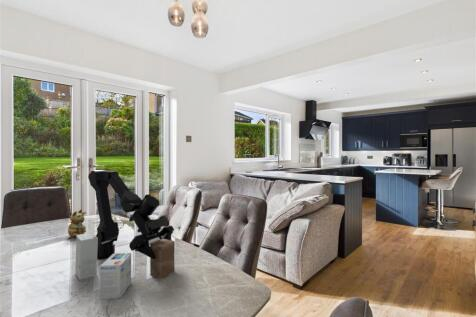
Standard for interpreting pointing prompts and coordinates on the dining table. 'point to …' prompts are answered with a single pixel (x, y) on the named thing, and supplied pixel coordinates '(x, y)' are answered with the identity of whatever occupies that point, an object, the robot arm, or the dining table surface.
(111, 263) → the light bulb box
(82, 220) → the decorative figurine
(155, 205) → the robot arm
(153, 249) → the brown rectangular block
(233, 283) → the dining table surface
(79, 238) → the skincare box
